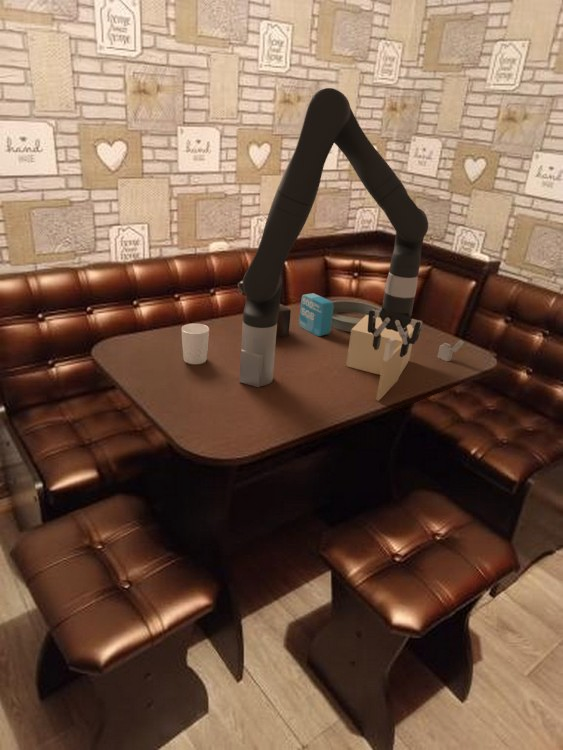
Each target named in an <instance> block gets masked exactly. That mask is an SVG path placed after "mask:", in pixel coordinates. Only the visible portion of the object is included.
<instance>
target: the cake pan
mask: <svg viewBox="0 0 563 750" xmlns="http://www.w3.org/2000/svg"><path fill="white" fill-rule="evenodd" d="M331 302H332V303H333V314H332V322H331V328H334V329H337V330H339V331H344V332H347V333H348V332H349V333H351V329H352V328H353V327H354V326H355V325H356V324H357V323H358V322H359V321H360V320H361V319H362V318H356V317H352V316H347V315H346V316H345V315H342V314H338V313H354V314H359V315H364V316H366V315H369V311H370V310H372V309H376V310H379V311H381V309H382V307H379V306H378V305H374V304H372V303H371V304H370V303H368V302H362V301H355V300H334V301H333V300H332V301H331ZM378 317H379V318H380V316H379V315H378Z"/></svg>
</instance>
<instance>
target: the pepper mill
mask: <svg viewBox="0 0 563 750" xmlns="http://www.w3.org/2000/svg"><path fill="white" fill-rule="evenodd" d="M237 287H238V288H239V290H240V293H241V296H245V297H246V294H245V292H244V289H243V279H242V280H240V281H239V282H238V283H237ZM291 312H292V310H291V309H290V308H288V307H286V306H285V305H284V304H281V303H280V307H279V313H278V319H277V331H276V339H278V337H280V338H283V337H288V336H290V326H291V325H290V324H291V314H292V313H291Z"/></svg>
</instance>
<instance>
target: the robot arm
mask: <svg viewBox="0 0 563 750" xmlns="http://www.w3.org/2000/svg"><path fill="white" fill-rule="evenodd" d="M361 127H362V126H361V125H360V124H359V122H358V120H357V118H356V116H355V114H354V112H353V110H352V108H351V105H350V102H349V99H348V97H346V96H345V94H344V93H343V92H341V91H340V90H338V89H336V88H331V87H325V88H323V89H319V90H318V91H317V92H315V93H314V95H312V97H311V98H310V100H309V101H308V104H307V107H306V110H305V115H304V118H303V123H302V127H301V129H300V133H299V137H298V140H297V142H296V147H295V148H294V152H293V154H292V156H291V158H290V159H289V162H288V164H287V166H286V169H285V170H284V172H283V175H282V176H281V179H280V182H279V184H278V187H277V189H276V191H275V194H274V197H273V199H272V202H271V206H270V209H269V212H268V215H267V218H266V221H265V224H264V228H263V232H262V236H261V239H260V243H259V245H258V248H257V250H256V252H255V255H254V257H253V259H252V260H251V263H250V265H249V266H248V268H247V270H246V271H245V273H244V276H243V278H242V280H243V289H244V292H245V294H246V296H245V303H244V307H243V313H242V330H241V351H240V358H239V359H240V360H239V377H238V379H239V380H238V381H239V383H242V384H246V385H248V386H253V387H255V388H260V387H262V386H267V385H269V384H271V383H272V382H273V379H274V378H273V377H274V367H275V353H276V343H277V338H276V331H277V319H278V313H279V307H280V304H281V297H282V296H281V295H282V285H283V283H282V282H283V277H282V272H283V268H284V265H285V262H286V260H287V258H288V255H289V253H290V251H291V250H292V248H293V246H294V244H295V243H296V241H297V239H298V238H299V236H300V234H301V233H302V230H303V228H304V227H305V224H306V222H307V220H308V217H309V215H310V214H311V212H312V208H313V207H314V206H313V205H314V203H315V200H316V198H317V195H318V190H319V188H320V183H321V181H322V180H321V179H322V175H323V171H324V168H325V164H326V161H327V158H328V156H329V154H330V152H331V149H332V148H333V146H334V144H335V145H336V147H338V149H339V150H340V151H341V152H342V153H343V155H344V156H345V158H346V159H347V160H348V162H349V164H350V165H351V166H352V169H353V170H354V172H355V173H356V175H357V177H358V178H359V180H360V182H361V183H362V185H363V186H364V188H365V189H366V191H367V192H368V193H369V195H370V196H371V197H372V199H373V201H375V202H376V204H377V206H378V207H379V208H380V209H381V210H382V211H383V212H384V214H385V216H386V217H387V219H388V221H389V222H390V224H391V226H392V227H393V229H394V230H395V239H394V247H393V252H392V255H391V258H390V259H391V260H390V265H389V270H388V276H387V279H386V282H385V286H384V295H383V299H382V307H381V311H379V310H376V309H372V310H370V311H369V316H368V332H369V333H372V334H373V335H374V339H373V347H374V350H378V349H379V346H380V340H381V335H380V334H381V332H382V331H383V330H384V329H385V328H386V329H389V330H394V331H396V332H398V331H399V335H400V337H401V338H402V341H403V343H402V346H401V351H400V357H403V356H405V355H406V354H407V352H408V347H409V344H412V345H414V344H415V343H416V342H417V341H418V340H419V336H420V333H421V330H422V327H423V323H424V321H423V320H422V319H415V318H413V316H412V315H413V308H414V307H413V306H414V303H415V298H416V293H417V287H418V277H419V272H420V268H421V260H422V248H423V245H424V244H423V243H424V239H425V238H424V237H425V236H426V235H427V233H428V232H429V231H428V229H429V221H428V216H427V215H426V213H425V211H424V210H423V209H421V208H419V207H418V205H416V203H415V202H414V200H413V199H412V198H411V196H410V195H409V194H408V191H407V189H406V187H405V186H404V184H403V182H402V181H401V180H400V179H399V177H398V176H397V174H396V173H395V171H394V170H393V169H392V168H391V166H390V165H389V163H388V162H387V161H386V160H385V159H384V158H383V156H382V155H381V154H380V152H379V151H378V150H377V149H376V148H375V147H374V145H373V144H372V143H371V141H370V140H369V138H368V137H367V135H366V133H365V132H364V130H363V129H362V128H361ZM378 315H379V316H380V318H381V320H382V322H383V323H382V324H381V325H380V326H379V327H378V329H376V328H375V324H376V318H377V317H378ZM409 324H410V325H412V328H413V329H414V330H413V334H412V337H411V338H410V336H409V333H408V332H409V331H408V328H407V325H409Z"/></svg>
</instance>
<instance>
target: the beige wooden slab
mask: <svg viewBox="0 0 563 750" xmlns="http://www.w3.org/2000/svg"><path fill="white" fill-rule="evenodd" d="M395 340H396V339H394V338H391V339H390V340H388V341H387V342H386V346H385V351H384V357H383V364H382V369H381V375H380V376H379V382H378V386H377V387H378V388H377V391H376V398H375V400H376V401H380V400H381V399H382V398H383V397H384V396H385V395H386V394H387V392H389V391H390V389H391V388H392V387H394V385H395V384H396V383H397V382H398V381H399V378H400V376H399V374H400V369H401V364H402V359H403V357H400V351H401V346H402V343H401V344H400V345H399V346H398V347H397V348H396V349H395V350H394V346H395ZM400 375H401V374H400Z"/></svg>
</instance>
